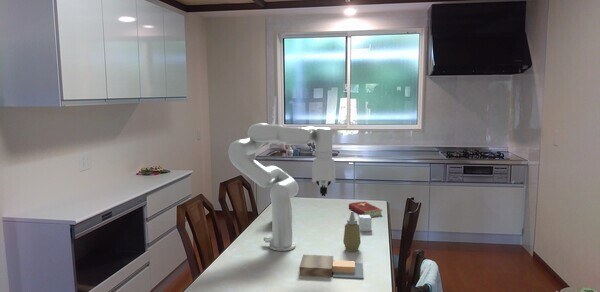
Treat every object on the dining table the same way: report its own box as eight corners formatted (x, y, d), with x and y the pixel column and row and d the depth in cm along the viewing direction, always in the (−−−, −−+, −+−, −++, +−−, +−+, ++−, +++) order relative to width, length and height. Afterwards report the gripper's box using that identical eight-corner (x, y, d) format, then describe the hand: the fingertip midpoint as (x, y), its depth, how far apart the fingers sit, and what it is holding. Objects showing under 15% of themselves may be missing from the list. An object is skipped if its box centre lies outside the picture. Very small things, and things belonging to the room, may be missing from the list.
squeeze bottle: (347, 253, 188) (347, 215, 185) (340, 247, 195) (340, 210, 193) (363, 251, 190) (363, 213, 187) (356, 245, 197) (356, 209, 195)
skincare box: (369, 227, 224) (369, 214, 223) (371, 231, 218) (371, 217, 217) (358, 227, 224) (358, 214, 223) (360, 231, 218) (360, 217, 217)
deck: (299, 275, 165) (299, 267, 165) (303, 262, 178) (303, 254, 177) (331, 277, 163) (331, 268, 163) (333, 263, 176) (333, 255, 176)
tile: (332, 271, 167) (332, 266, 166) (332, 265, 173) (332, 260, 172) (354, 272, 166) (354, 267, 165) (354, 266, 172) (354, 261, 171)
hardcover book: (364, 218, 243) (364, 211, 242) (348, 209, 262) (348, 202, 262) (382, 216, 247) (382, 209, 246) (365, 207, 266) (365, 200, 266)
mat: (332, 277, 163) (332, 276, 163) (334, 263, 177) (334, 262, 177) (363, 279, 161) (363, 277, 161) (362, 264, 175) (362, 263, 175)
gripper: (306, 156, 181) (306, 196, 183) (340, 156, 179) (339, 197, 181) (308, 153, 188) (308, 192, 190) (340, 154, 186) (340, 193, 188)
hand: (323, 195), depth 186 cm, fingers closed
